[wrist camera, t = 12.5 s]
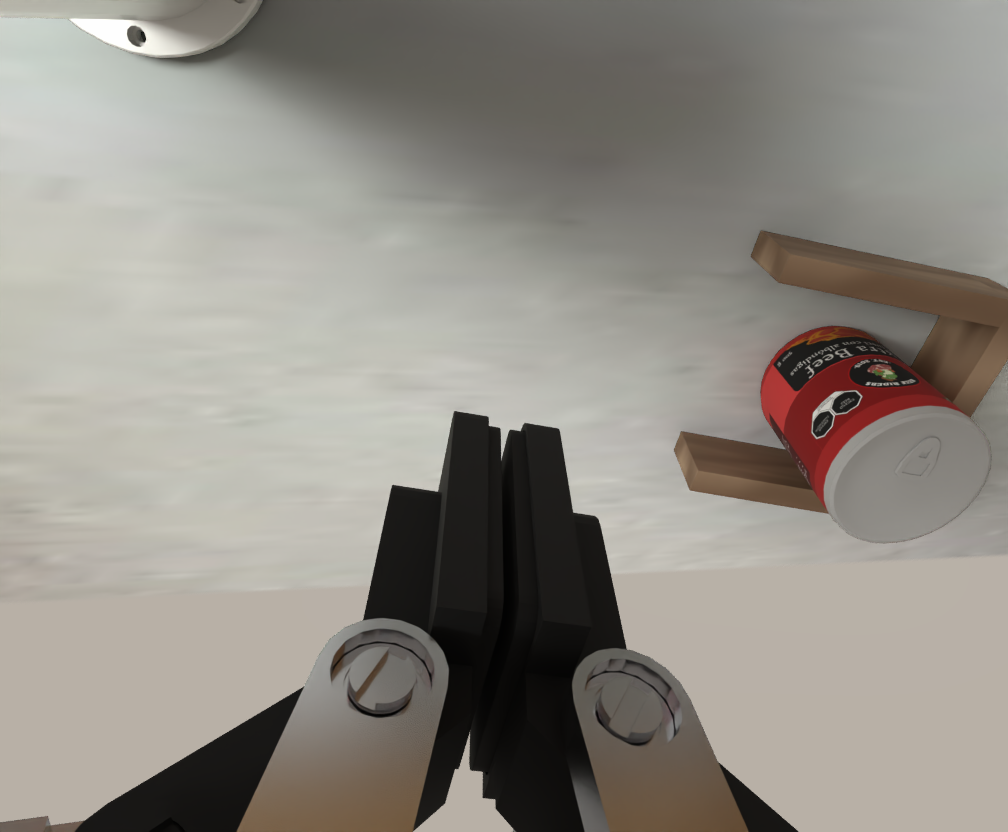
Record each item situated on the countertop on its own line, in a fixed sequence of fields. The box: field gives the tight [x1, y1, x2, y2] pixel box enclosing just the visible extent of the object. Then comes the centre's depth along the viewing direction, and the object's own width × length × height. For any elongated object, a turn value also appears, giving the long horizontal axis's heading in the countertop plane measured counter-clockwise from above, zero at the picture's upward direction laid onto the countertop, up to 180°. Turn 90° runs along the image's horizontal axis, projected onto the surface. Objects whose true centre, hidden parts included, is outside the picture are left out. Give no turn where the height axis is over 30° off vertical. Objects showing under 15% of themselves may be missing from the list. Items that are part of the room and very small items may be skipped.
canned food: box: [761, 326, 992, 543], centre depth 37 cm, size 8×8×11 cm
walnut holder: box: [674, 231, 1008, 514], centre depth 40 cm, size 15×14×4 cm
